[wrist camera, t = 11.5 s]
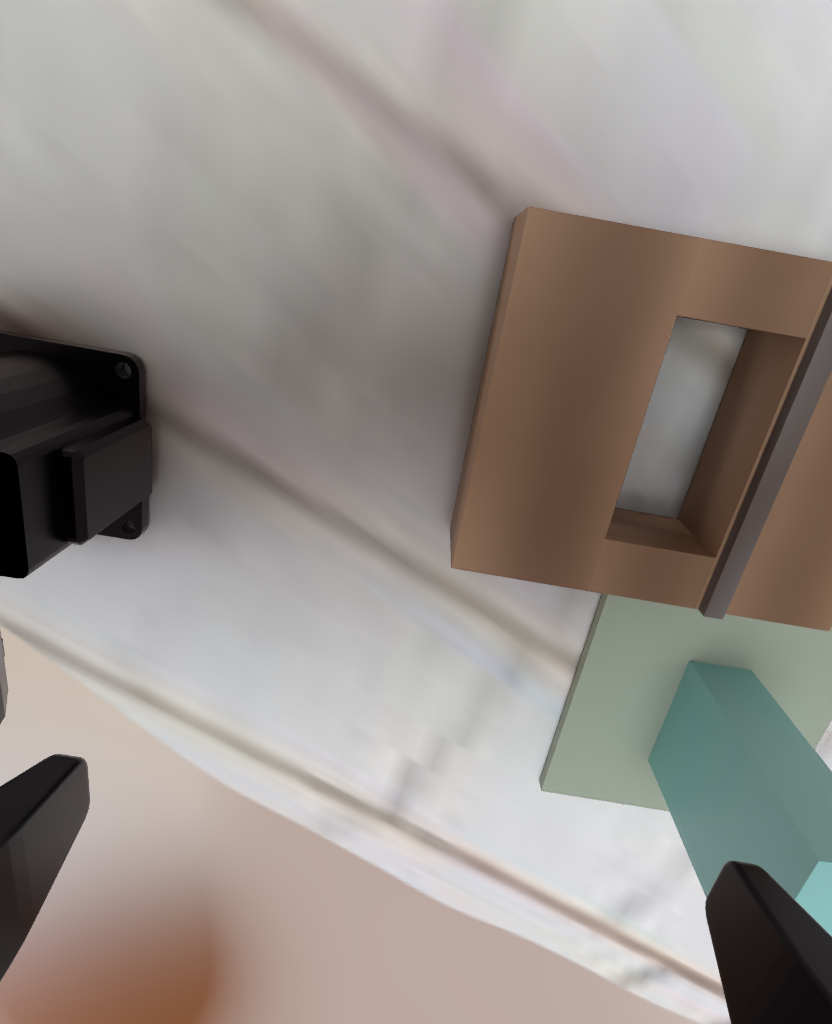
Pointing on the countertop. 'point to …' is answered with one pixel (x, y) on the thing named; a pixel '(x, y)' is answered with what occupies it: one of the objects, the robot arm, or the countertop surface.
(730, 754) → the tall teal box
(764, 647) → the mat
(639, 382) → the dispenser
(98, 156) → the countertop surface
